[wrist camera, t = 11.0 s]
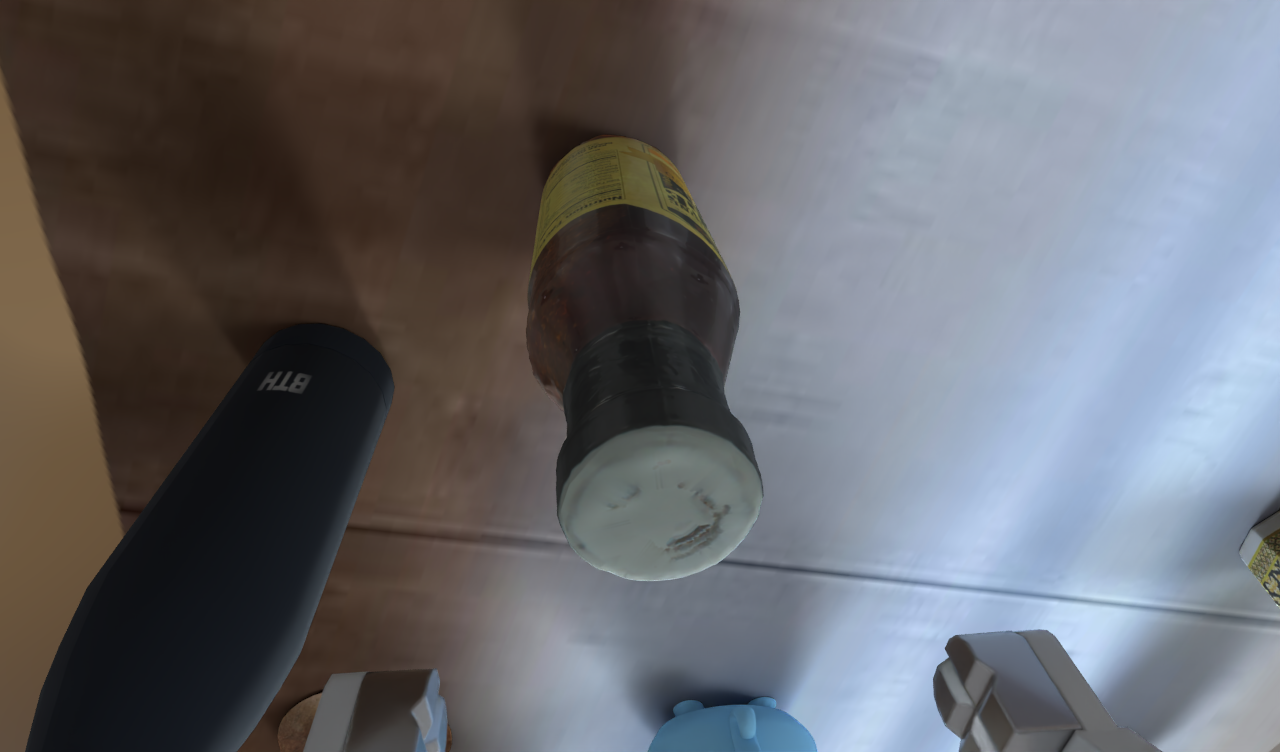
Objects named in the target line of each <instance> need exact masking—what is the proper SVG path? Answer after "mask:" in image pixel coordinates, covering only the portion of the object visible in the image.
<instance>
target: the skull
mask: <svg viewBox="0 0 1280 752" xmlns="http://www.w3.org/2000/svg"><path fill="white" fill-rule="evenodd" d="M322 693H323V692H322ZM322 693H320V694H317V695H314V696H311V697H310V698H307V699H305V700H304V701H302V702H300V703H299V704H297V705H296V706H294V707H293V708H292V709H291V710H290V711H289V712H288V713H287V714H286V715H285V716H284V718H283V720H282V721H281V723H280V726H279V729H278V736H277V739H278V745H279V748H280V750H281V752H303V750H304V747H305V744H306V741H307V738H308V735H309V732H310V729H311V726H312V723H313V720H314V717H315V714H316V711H317V708H318V705H319V702H320V699H321V696H322ZM451 734H452V733H451V729H450V728H449V725H448V723H447V738H446V748H445V752H449V751H450V749H451V745H452V735H451Z"/></svg>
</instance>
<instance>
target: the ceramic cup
mask: <svg viewBox="0 0 1280 752" xmlns="http://www.w3.org/2000/svg"><path fill="white" fill-rule="evenodd" d="M1239 554H1240V556H1241V558H1242V560H1243V561H1244V562H1245V564H1246V565H1247V566H1248V568H1249V569H1250V571H1251V572H1252V573H1253V574H1254V576H1255V577H1256V578H1257V579H1258V580H1259V582H1260V583H1261V584H1262V586H1263V587H1264V588H1265V590H1266V591H1267V592H1268V594H1269V595H1270V596H1271V598H1272V599H1273V600H1274V602H1275V603H1276V604H1277V605H1278V607H1279V608H1280V511H1278V512H1277V513H1275V514H1274V515H1272V516H1270V517H1269V518H1267V519H1266V520H1264V521H1262V522H1261V523H1259V524H1258V525H1256V526H1255V527H1253V528H1252V529H1251V530H1250V532H1249V534H1248V536H1247V537H1246V539H1245V541H1244V543H1243V545H1242V547H1241V549H1240V551H1239Z"/></svg>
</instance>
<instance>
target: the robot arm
mask: <svg viewBox="0 0 1280 752" xmlns="http://www.w3.org/2000/svg"><path fill="white" fill-rule="evenodd" d="M945 650H946V652H947V654H948V656H949V658H948V659H946V660H945V661H943V662H942V663H941V664H939V665H938V666H937V669H936V672H935V675H934V678H933V688H934V698H935V701H936V705H937V708H938V711H939V713H940V716H941V718H942V720H943V722H944V724H945V726H946V727H947V728H948V729H950V730H951V731H952V732H953V733H954V734H956V735H957V736H958V737H959V738H960V739H961V742H960V747H959V752H1162V751H1161V750H1159V749H1158V748H1157V747H1155V746H1154V745H1152V744H1151V743H1149V742H1148V741H1147V740H1145V739H1144V738H1142V737H1141V736H1140V735H1138V734H1137V733H1135V732H1134V731H1132V730H1131V729H1130V728H1128V727H1118V726H1117V725H1116V724H1115V722H1114V721H1113V719H1112V718H1111V716H1110V715H1109V713H1108V712H1107V711H1106V709H1105V708H1104V706H1103V705H1102V703H1101V702H1100V700H1099V699H1098V697H1097V696H1096V695H1095V693H1094V692H1093V690H1092V689H1091V687H1090V686H1089V684H1088V683H1087V682H1086V680H1085V679H1084V677H1083V676H1082V674H1081V673H1080V671H1079V670H1078V669H1077V667H1076V666H1075V664H1074V663H1073V661H1072V660H1071V658H1070V657H1069V655H1068V654H1067V653H1066V651H1065V650H1064V648H1063V647H1062V645H1061V644H1060V642H1059V641H1058V640H1057V638H1056V637H1055V636H1054V635H1053V634H1051V633H1050V632H1049V631H1048V630H1041V629H1038V630H1025V631H1001V632H989V633H977V634H965V635H955V636H954V637H952V638H950V639H949V641H948V643H947V645H946V647H945ZM439 685H440V679H439V675H438V672H437V669H436V668H433V669H415V670H397V671H379V672H353V673H339V674H332V675H331V677H330V678H329V680H328V682H327V683H326V685H325V686H324V689H323V693H322V696H321V699H320V702H319V705H318V708H317V711H316V714H315V717H314V720H313V723H312V726H311V729H310V732H309V735H308V738H307V741H306V744H305V747H304V750H303V752H445V748H446V738H447V711H446V704H445V700H444V698H443V697H441V696H440V695H438V691H439Z"/></svg>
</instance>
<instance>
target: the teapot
mask: <svg viewBox="0 0 1280 752" xmlns="http://www.w3.org/2000/svg"><path fill="white" fill-rule="evenodd" d="M775 707H776V701H775V700H774V699H772V698H769V697H760V698H756V699H754V700H752V701H750V702H749V703H748V705H725V706H717V707H710V708H705V709H704V706H703V704H702V703H701V702H699V701H695V700H687V701H683V702H680V703H678V704H677V705H676V706H675V707H674V709H673V712H674V714H675V716H676V717H675V718H673V719H671V720H669V721H668V722H666V723H665V724H664V725H663V726H662V727H661V728H660V729H659V731H658V733H657V734H656V736H655V738H654V740H653V741H652V743H651V745H650V747H649V749H648V752H818V751H817V748H816V744H815V741H814V739H813V737H812V736H811V734H810V733H809V731H808V730H807V729H806V728H805V727H804V726H803V725H802V724H801V723H799V722H798V721H797V720H796V719H794V718H793V717H792V716H791V715H789V714H788V713H786V712H784V711H782V710H779V709H775Z"/></svg>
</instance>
